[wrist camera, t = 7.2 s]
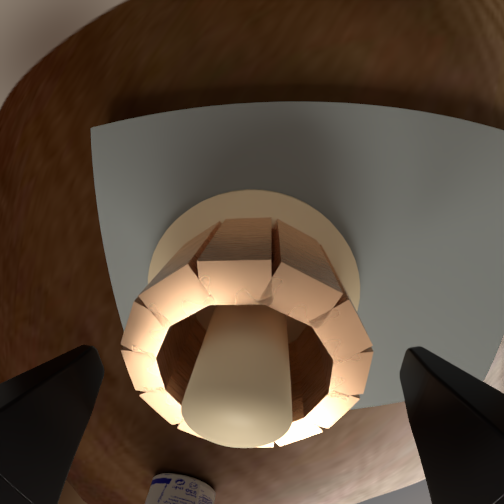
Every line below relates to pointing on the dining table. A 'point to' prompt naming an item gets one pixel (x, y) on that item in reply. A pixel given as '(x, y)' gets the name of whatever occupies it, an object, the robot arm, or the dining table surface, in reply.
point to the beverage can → (179, 490)
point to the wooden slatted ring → (250, 293)
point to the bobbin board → (318, 227)
